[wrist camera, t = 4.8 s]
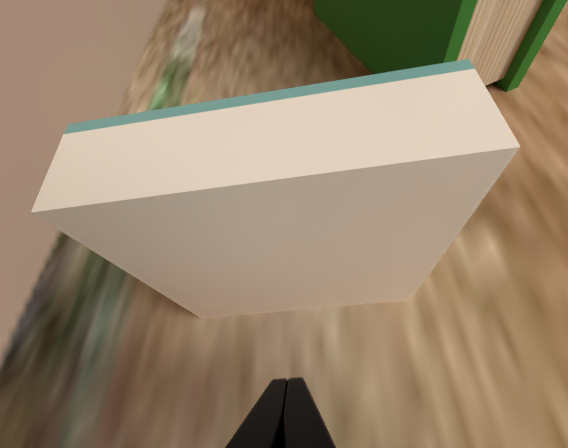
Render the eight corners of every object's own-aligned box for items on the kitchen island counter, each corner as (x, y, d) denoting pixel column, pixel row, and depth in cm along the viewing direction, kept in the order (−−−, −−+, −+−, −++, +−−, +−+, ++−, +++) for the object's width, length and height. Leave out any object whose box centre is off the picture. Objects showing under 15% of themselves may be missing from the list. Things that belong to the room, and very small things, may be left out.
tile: (411, 299, 16) (520, 146, 6) (201, 318, 17) (30, 212, 7) (397, 246, 17) (469, 58, 8) (205, 267, 18) (67, 124, 9)
